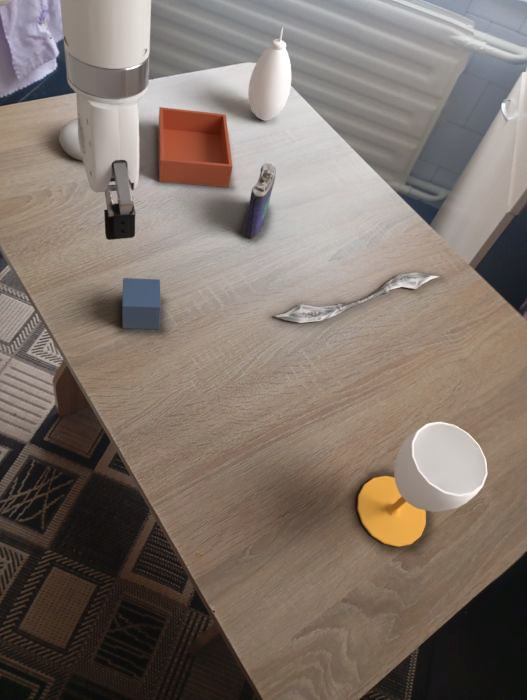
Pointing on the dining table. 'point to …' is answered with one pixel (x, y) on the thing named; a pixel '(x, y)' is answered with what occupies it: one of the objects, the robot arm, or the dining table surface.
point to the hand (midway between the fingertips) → (112, 207)
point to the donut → (71, 139)
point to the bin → (194, 148)
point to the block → (141, 303)
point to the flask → (259, 202)
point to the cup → (422, 483)
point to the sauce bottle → (270, 81)
